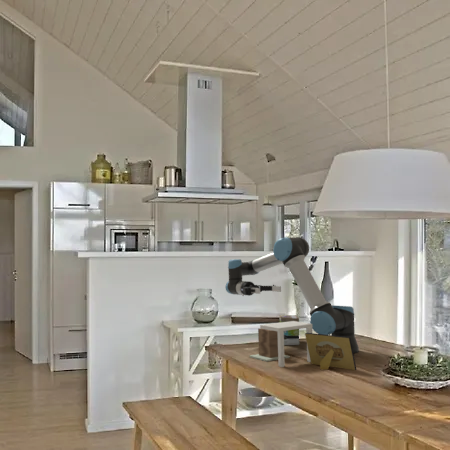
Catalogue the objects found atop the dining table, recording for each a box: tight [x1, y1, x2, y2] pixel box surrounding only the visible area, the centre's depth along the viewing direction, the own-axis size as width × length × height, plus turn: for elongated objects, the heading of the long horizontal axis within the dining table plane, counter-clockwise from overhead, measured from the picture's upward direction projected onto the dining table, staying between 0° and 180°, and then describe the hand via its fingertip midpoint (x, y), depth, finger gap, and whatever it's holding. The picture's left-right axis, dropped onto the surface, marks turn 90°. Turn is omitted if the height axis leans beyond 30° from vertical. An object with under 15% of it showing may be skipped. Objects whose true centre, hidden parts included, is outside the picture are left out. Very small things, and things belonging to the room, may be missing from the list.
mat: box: [249, 353, 290, 362], centre depth 299 cm, size 14×14×1 cm
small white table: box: [259, 321, 313, 368], centre depth 288 cm, size 14×20×18 cm
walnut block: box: [257, 328, 278, 358], centre depth 300 cm, size 9×6×13 cm, turn 33°
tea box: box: [278, 314, 300, 346], centre depth 339 cm, size 15×10×15 cm, turn 179°
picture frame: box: [304, 332, 357, 371], centre depth 271 cm, size 23×9×15 cm, turn 47°
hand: (270, 290), depth 316 cm, fingers open, 13 cm apart
